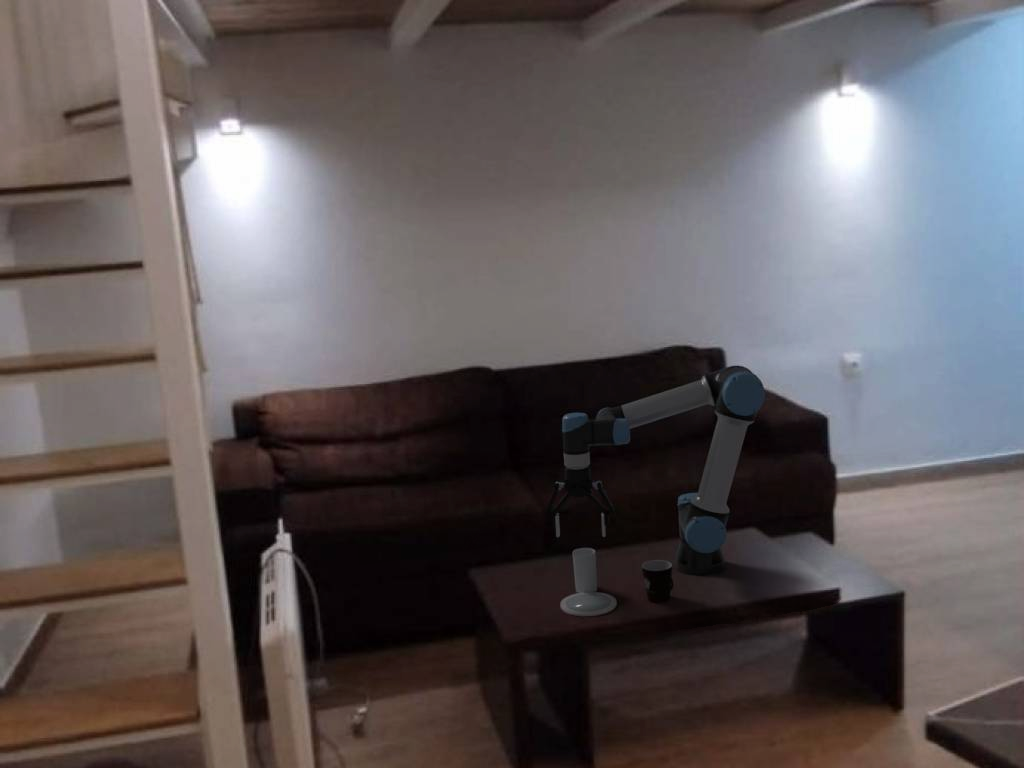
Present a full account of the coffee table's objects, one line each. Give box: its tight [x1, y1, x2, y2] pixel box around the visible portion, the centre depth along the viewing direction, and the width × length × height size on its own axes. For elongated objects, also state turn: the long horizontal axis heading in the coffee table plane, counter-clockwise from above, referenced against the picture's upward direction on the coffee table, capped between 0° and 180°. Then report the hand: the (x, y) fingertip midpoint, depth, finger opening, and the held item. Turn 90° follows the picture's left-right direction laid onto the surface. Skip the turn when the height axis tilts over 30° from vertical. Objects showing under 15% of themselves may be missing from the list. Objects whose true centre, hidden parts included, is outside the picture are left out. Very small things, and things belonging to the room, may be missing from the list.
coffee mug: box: [641, 559, 674, 604], centre depth 292 cm, size 12×9×10 cm
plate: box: [560, 591, 618, 617], centre depth 293 cm, size 16×16×1 cm
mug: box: [572, 547, 598, 593], centre depth 305 cm, size 10×7×12 cm, turn 5°
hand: (581, 535), depth 304 cm, fingers open, 13 cm apart
